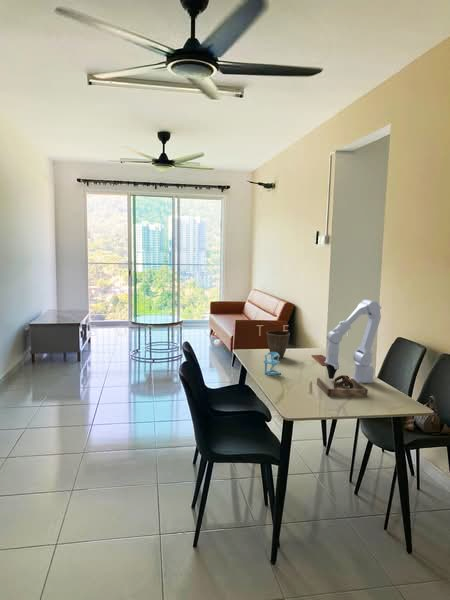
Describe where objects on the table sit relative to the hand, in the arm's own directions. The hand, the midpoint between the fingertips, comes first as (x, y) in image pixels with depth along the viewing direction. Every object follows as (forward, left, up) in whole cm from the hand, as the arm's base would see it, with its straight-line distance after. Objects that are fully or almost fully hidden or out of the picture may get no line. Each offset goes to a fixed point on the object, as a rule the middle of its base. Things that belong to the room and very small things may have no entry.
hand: (331, 378), depth 216 cm
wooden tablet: (-10, -41, -2) cm, 42 cm away
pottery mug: (-2, +13, -2) cm, 13 cm away
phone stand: (+30, -12, -2) cm, 32 cm away
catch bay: (0, +14, -1) cm, 14 cm away
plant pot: (+19, -47, -2) cm, 51 cm away
